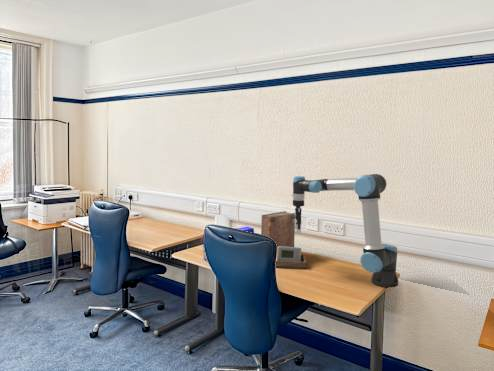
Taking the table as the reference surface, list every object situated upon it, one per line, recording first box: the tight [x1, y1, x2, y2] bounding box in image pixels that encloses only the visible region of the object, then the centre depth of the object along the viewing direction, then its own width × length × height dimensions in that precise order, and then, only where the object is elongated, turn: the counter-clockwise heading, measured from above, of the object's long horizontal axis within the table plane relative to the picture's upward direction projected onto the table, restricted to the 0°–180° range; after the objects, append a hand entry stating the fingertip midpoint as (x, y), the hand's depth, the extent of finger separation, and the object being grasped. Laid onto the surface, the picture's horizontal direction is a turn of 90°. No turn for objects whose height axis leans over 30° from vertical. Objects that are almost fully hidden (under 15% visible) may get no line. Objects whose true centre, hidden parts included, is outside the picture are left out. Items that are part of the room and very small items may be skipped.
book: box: [260, 210, 296, 247], centre depth 273 cm, size 25×9×30 cm, turn 131°
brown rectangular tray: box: [275, 254, 307, 270], centre depth 255 cm, size 17×21×4 cm
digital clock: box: [277, 246, 302, 262], centre depth 254 cm, size 16×9×11 cm, turn 69°
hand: (297, 231), depth 250 cm, fingers open, 13 cm apart
